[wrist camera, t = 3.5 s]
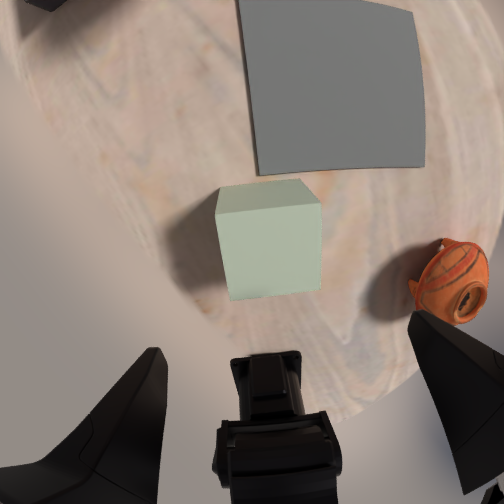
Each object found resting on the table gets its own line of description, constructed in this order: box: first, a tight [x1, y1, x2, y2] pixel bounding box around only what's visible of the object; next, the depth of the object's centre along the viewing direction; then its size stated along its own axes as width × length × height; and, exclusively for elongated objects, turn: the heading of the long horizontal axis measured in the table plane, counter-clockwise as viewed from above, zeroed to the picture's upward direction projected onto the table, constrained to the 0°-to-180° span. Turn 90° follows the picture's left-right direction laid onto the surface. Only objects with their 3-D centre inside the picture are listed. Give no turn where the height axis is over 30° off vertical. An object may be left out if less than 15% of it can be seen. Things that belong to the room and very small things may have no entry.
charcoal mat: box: [238, 0, 425, 175], centre depth 14 cm, size 12×12×1 cm
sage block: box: [215, 179, 322, 301], centre depth 16 cm, size 5×5×5 cm
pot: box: [408, 238, 489, 326], centre depth 19 cm, size 8×8×7 cm
